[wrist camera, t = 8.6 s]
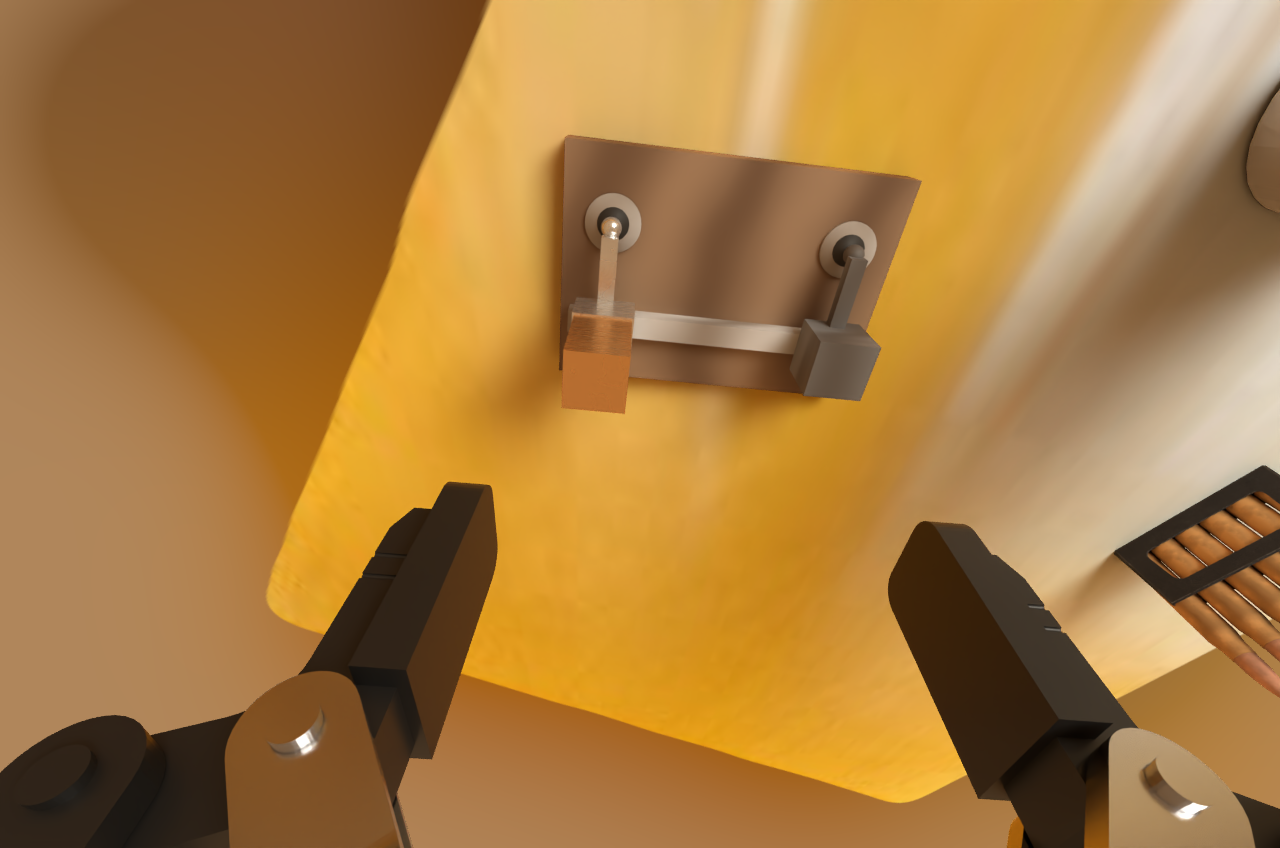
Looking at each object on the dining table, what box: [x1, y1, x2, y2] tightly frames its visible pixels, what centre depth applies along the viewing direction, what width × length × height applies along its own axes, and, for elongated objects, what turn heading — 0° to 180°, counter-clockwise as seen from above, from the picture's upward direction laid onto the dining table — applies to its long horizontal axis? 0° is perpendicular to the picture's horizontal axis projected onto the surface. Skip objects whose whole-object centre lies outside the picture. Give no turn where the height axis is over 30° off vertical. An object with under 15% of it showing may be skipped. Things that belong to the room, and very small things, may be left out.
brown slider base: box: [559, 135, 922, 401], centre depth 26 cm, size 17×12×6 cm
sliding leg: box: [562, 217, 635, 414], centre depth 24 cm, size 3×7×7 cm, turn 174°
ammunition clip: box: [1114, 465, 1280, 697], centre depth 33 cm, size 11×2×12 cm, turn 145°
